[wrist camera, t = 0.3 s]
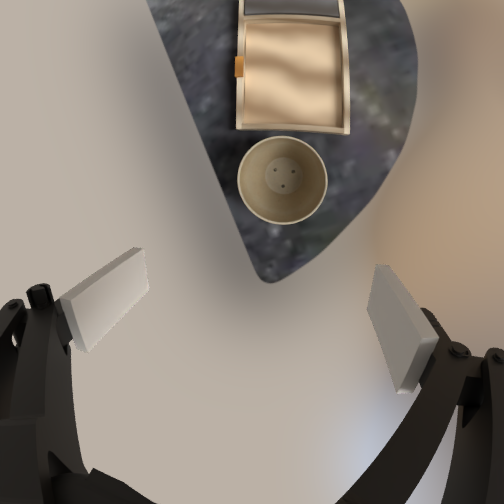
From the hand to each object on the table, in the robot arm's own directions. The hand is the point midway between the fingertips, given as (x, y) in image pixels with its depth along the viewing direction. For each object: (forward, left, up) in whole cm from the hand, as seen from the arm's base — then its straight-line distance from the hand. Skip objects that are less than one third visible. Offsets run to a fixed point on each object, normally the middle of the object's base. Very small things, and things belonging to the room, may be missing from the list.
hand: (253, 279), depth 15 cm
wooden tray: (-21, +1, -24) cm, 32 cm away
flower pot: (-4, 0, -25) cm, 25 cm away
